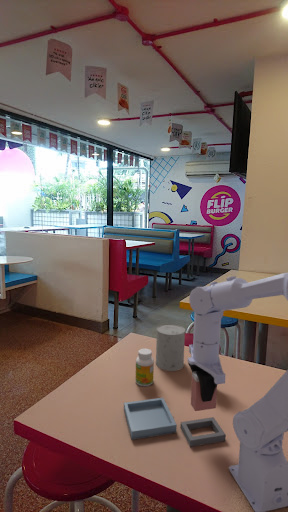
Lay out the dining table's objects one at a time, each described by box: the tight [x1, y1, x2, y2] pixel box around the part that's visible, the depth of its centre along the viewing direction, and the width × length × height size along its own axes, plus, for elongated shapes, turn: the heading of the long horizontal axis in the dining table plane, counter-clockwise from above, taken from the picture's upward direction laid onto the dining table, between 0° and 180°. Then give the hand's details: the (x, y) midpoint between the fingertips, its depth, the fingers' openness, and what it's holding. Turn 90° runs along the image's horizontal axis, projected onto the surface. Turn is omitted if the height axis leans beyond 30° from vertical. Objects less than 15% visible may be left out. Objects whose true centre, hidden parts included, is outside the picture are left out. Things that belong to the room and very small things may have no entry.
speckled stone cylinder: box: [155, 323, 186, 372], centre depth 101 cm, size 10×10×12 cm
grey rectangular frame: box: [179, 416, 226, 447], centre depth 69 cm, size 6×8×2 cm
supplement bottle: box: [135, 348, 155, 387], centre depth 90 cm, size 5×5×10 cm
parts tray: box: [123, 397, 178, 441], centre depth 73 cm, size 11×11×2 cm
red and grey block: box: [190, 370, 218, 412], centre depth 68 cm, size 2×5×8 cm, turn 103°
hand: (203, 396), depth 68 cm, fingers closed on red and grey block, 2 cm apart
